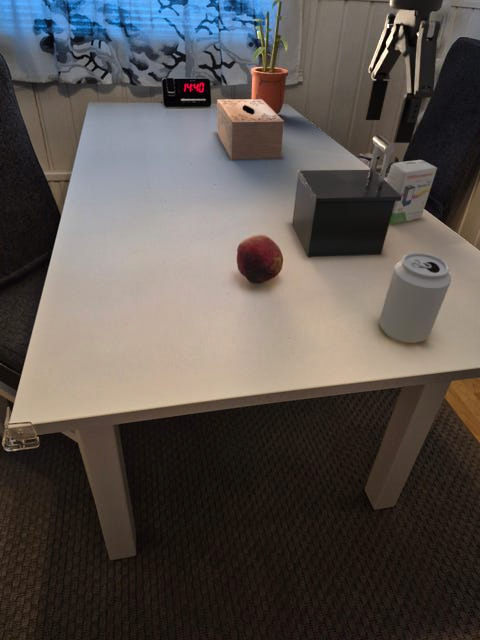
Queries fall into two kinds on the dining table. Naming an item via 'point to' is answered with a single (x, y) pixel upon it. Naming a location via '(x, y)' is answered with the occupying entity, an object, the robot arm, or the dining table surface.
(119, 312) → the dining table surface
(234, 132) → the tissue box cover
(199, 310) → the dining table surface
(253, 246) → the fruit
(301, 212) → the bin
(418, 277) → the can
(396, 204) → the ink box
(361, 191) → the bin lid
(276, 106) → the potted plant
